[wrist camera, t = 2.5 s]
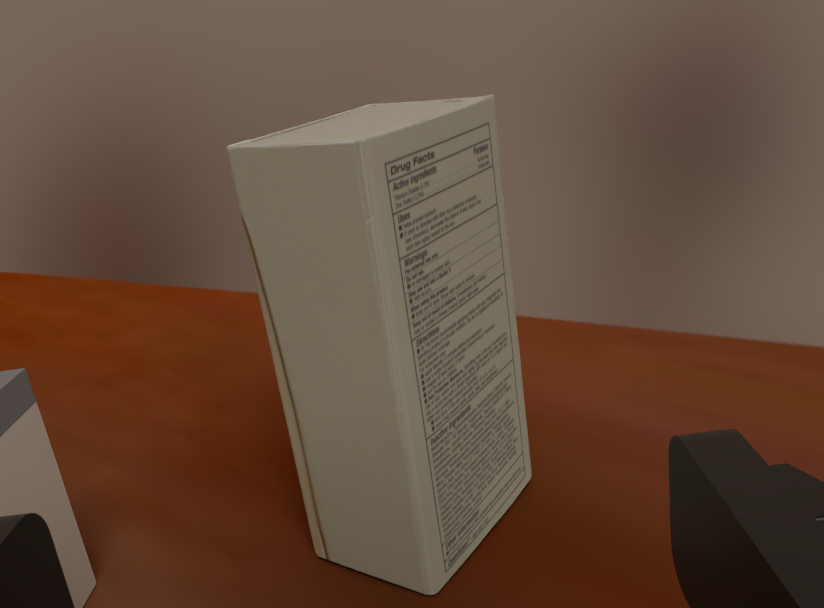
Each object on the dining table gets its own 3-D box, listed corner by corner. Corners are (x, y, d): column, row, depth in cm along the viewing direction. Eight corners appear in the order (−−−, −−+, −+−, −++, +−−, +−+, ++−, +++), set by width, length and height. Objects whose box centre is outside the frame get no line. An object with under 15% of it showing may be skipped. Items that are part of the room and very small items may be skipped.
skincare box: (425, 456, 27) (370, 103, 23) (540, 481, 25) (501, 90, 21) (307, 564, 22) (214, 142, 18) (437, 609, 20) (360, 132, 16)
